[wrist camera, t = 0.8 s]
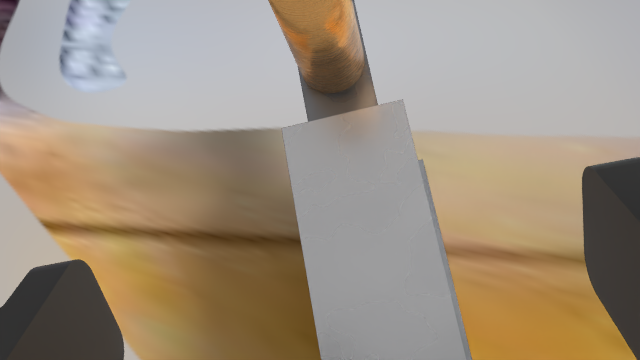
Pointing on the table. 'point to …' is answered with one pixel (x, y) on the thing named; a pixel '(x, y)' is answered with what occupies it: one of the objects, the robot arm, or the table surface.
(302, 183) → the grey sleeve
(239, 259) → the table surface
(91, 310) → the robot arm
